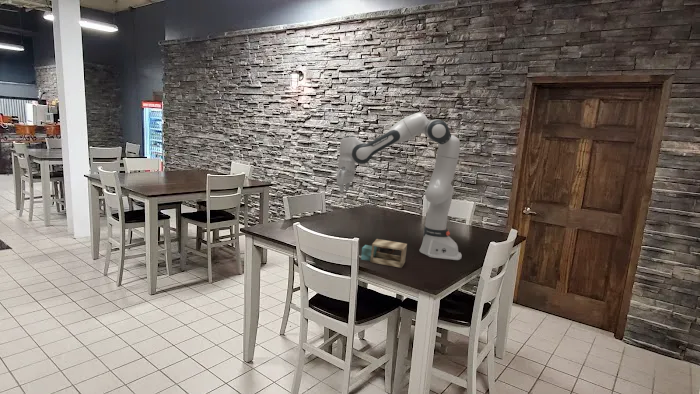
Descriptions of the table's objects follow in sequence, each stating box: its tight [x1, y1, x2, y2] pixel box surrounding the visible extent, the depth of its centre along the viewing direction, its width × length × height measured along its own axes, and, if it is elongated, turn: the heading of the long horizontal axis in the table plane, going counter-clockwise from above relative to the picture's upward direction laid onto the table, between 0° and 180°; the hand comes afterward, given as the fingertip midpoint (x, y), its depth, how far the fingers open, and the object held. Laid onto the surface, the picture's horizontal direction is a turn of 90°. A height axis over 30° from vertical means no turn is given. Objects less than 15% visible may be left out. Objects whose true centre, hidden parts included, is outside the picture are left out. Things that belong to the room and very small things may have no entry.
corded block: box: [358, 244, 377, 262], centre depth 199 cm, size 19×6×6 cm, turn 72°
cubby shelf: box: [369, 238, 408, 269], centre depth 194 cm, size 16×10×9 cm, turn 73°
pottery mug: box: [377, 247, 396, 255], centre depth 206 cm, size 12×10×8 cm
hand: (344, 191), depth 215 cm, fingers open, 8 cm apart
